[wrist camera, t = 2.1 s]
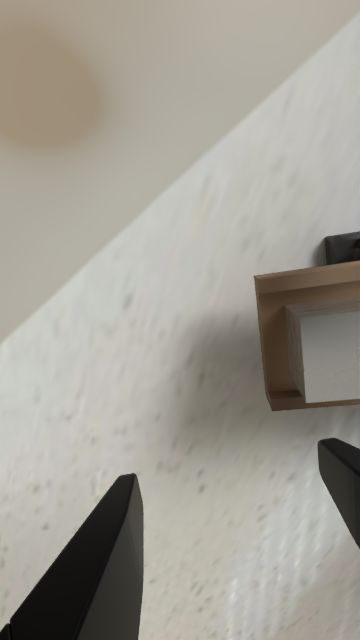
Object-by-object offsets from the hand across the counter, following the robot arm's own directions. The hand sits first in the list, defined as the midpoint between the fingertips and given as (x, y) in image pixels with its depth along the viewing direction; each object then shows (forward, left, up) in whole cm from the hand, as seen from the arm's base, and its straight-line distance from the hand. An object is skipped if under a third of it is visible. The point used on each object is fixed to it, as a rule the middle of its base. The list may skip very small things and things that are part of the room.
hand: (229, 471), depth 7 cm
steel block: (0, -8, -8) cm, 11 cm away
